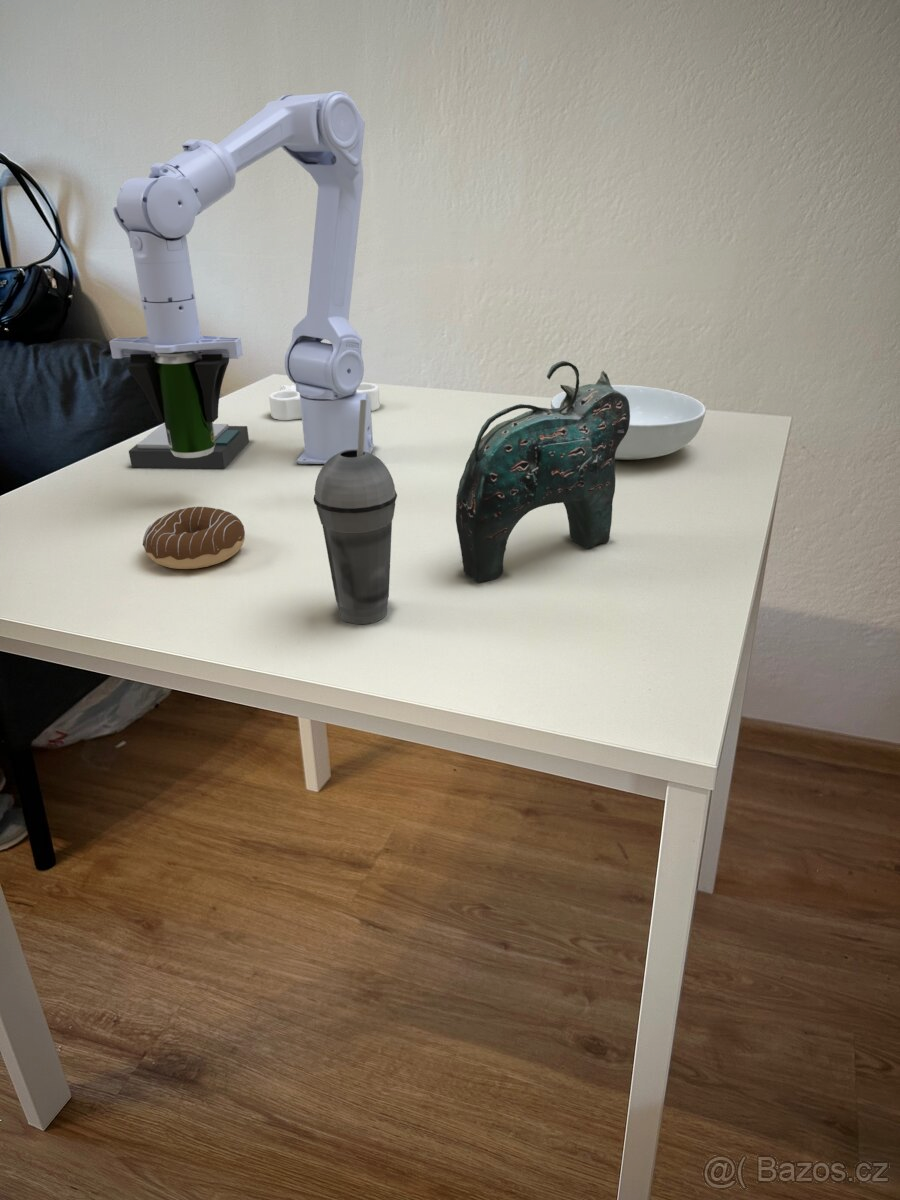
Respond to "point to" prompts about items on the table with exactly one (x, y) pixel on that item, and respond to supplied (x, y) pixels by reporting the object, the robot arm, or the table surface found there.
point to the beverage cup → (357, 529)
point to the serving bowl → (655, 421)
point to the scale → (159, 455)
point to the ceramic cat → (542, 472)
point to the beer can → (183, 405)
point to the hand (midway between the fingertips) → (188, 419)
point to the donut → (194, 538)
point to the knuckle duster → (289, 405)
